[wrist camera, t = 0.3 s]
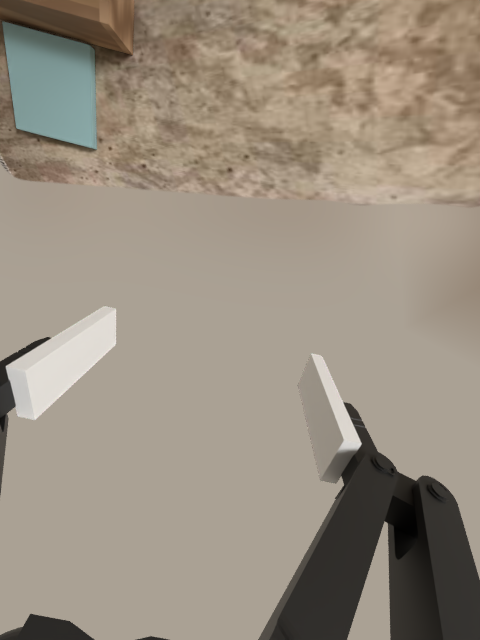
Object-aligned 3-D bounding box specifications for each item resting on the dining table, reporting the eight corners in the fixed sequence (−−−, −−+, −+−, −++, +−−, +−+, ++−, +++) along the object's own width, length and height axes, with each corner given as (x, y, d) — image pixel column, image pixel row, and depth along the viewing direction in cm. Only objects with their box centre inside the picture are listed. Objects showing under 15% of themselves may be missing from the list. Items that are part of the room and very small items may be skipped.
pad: (9, 26, 30) (1, 21, 30) (94, 49, 31) (89, 45, 30) (22, 130, 35) (16, 128, 34) (96, 149, 35) (92, 148, 34)
